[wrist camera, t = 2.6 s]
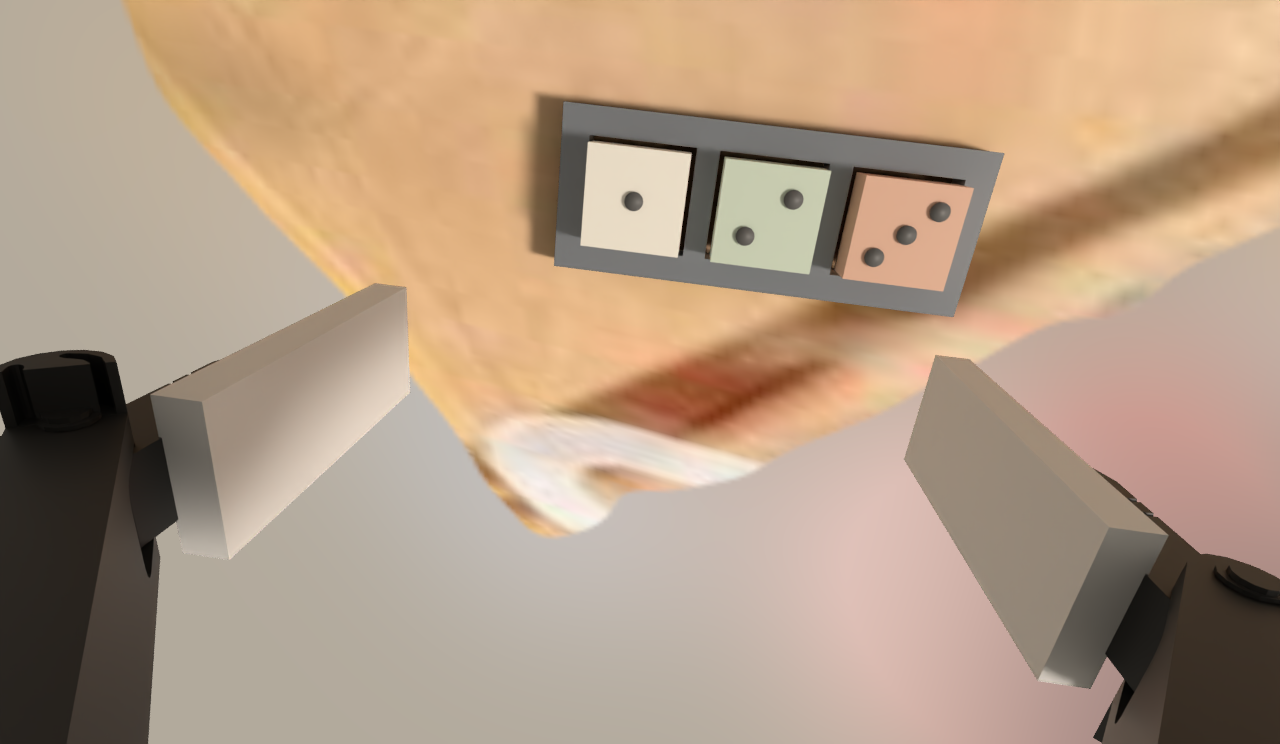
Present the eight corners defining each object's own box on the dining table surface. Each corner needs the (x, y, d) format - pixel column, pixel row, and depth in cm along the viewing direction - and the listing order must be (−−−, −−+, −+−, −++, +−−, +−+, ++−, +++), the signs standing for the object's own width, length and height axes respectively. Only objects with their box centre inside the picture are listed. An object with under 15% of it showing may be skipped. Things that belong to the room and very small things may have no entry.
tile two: (709, 253, 41) (710, 262, 38) (724, 156, 38) (726, 158, 36) (802, 265, 40) (809, 275, 38) (823, 168, 38) (832, 171, 36)
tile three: (834, 269, 40) (843, 279, 38) (856, 172, 38) (867, 175, 35) (929, 281, 40) (944, 292, 37) (957, 184, 38) (975, 188, 35)
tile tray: (560, 259, 43) (554, 265, 41) (570, 102, 40) (563, 101, 38) (942, 308, 42) (953, 317, 40) (989, 151, 38) (1004, 153, 37)
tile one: (587, 238, 41) (579, 246, 38) (594, 140, 39) (587, 141, 36) (678, 250, 41) (677, 258, 38) (691, 152, 38) (691, 154, 36)
